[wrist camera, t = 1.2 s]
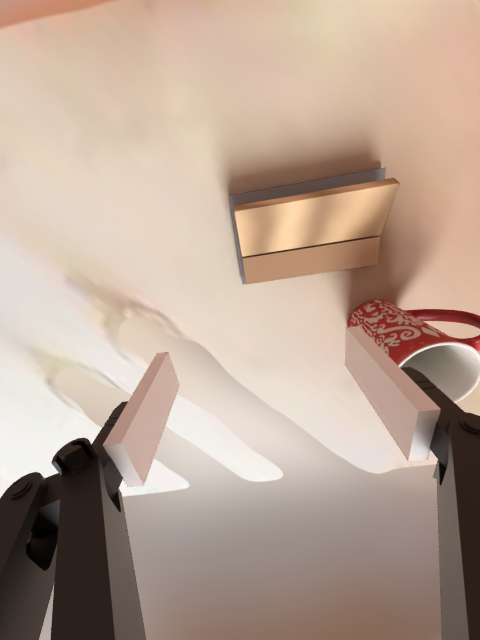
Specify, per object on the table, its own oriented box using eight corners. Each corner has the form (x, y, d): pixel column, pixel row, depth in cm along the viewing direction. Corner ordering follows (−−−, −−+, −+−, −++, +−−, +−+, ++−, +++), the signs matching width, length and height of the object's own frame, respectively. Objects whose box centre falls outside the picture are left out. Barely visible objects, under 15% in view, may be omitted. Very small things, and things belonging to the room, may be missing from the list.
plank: (241, 250, 31) (242, 256, 30) (233, 206, 26) (234, 211, 26) (376, 229, 30) (380, 234, 29) (394, 177, 25) (399, 183, 24)
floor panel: (242, 282, 34) (242, 287, 32) (229, 196, 29) (228, 195, 27) (373, 262, 32) (382, 266, 31) (380, 168, 28) (391, 165, 26)
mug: (353, 356, 39) (404, 424, 27) (331, 313, 36) (378, 368, 24) (433, 320, 36) (531, 377, 24) (417, 269, 33) (521, 305, 21)
